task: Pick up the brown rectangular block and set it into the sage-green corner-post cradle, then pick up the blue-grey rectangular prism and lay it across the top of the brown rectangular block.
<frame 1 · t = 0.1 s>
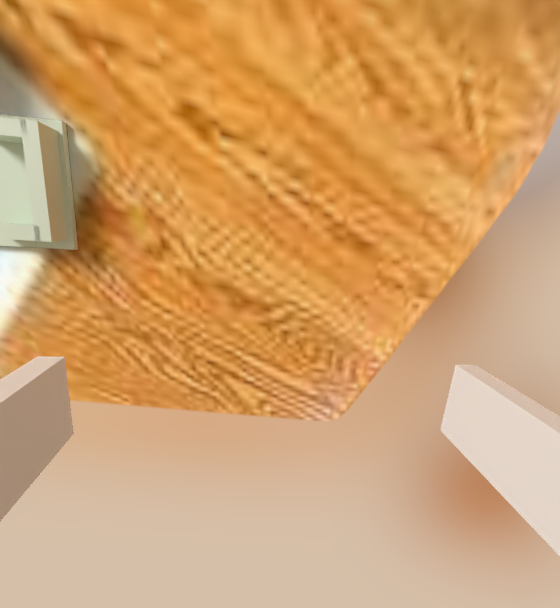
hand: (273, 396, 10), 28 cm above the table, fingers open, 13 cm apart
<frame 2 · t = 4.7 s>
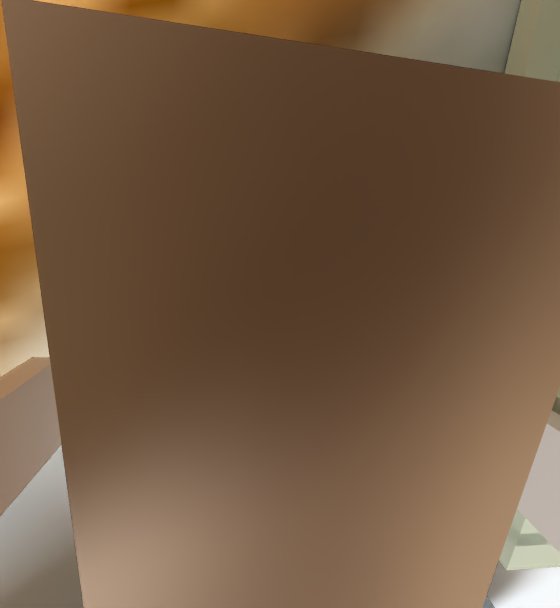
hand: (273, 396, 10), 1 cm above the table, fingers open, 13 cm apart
brown rectangular block: (268, 376, 11), on the table
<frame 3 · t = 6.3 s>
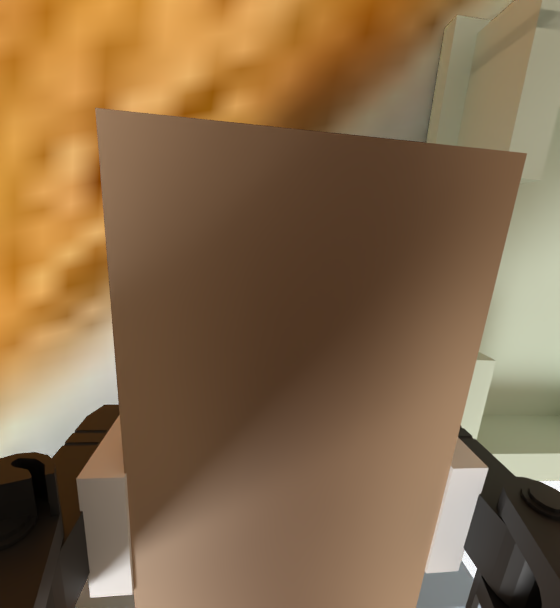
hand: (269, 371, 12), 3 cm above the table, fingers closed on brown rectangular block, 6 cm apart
jig: (523, 270, 16), on the table
brown rectangular block: (268, 367, 13), point 3 cm above the table, touching gripper
blue-grey rectangular prism: (304, 544, 19), on the table
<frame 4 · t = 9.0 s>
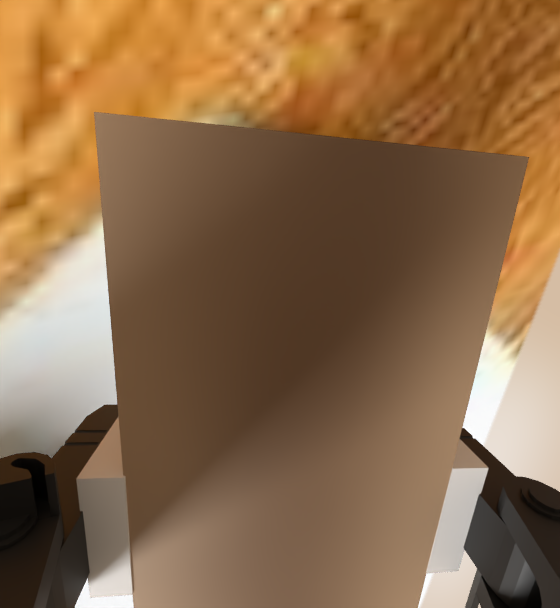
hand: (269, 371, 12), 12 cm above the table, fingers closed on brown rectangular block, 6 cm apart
brown rectangular block: (268, 369, 12), point 12 cm above the table, touching gripper
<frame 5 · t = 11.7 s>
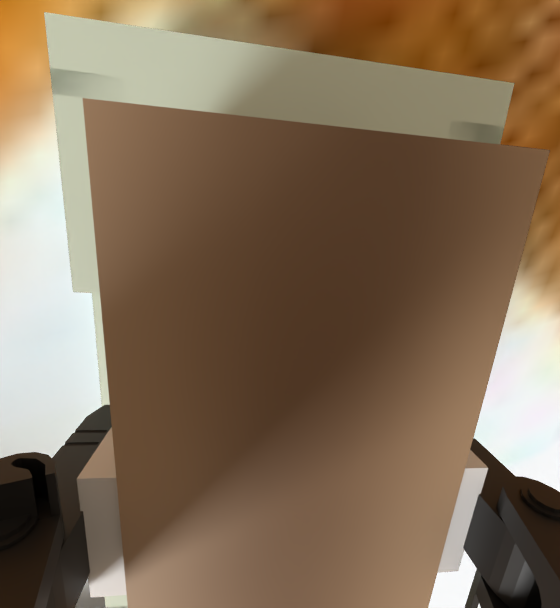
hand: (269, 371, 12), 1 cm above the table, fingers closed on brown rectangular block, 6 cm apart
jig: (266, 357, 13), on the table
brown rectangular block: (268, 370, 12), point 1 cm above the table, touching gripper, jig
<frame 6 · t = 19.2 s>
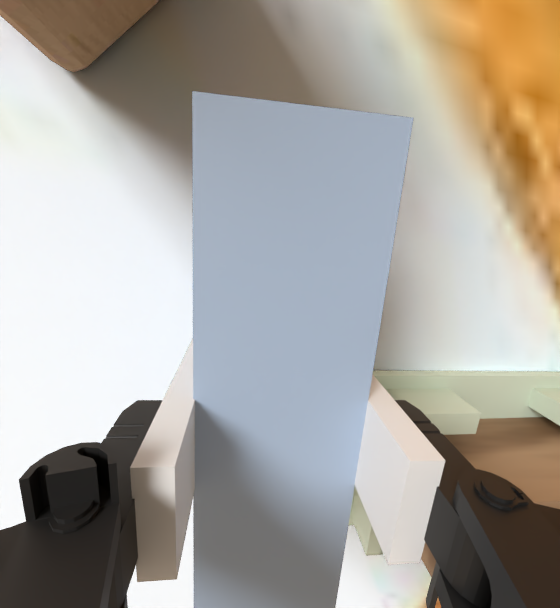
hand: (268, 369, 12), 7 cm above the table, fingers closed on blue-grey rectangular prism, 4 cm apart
jig: (467, 444, 24), on the table
brown rectangular block: (472, 452, 23), point 1 cm above the table, touching jig
blue-grey rectangular prism: (268, 362, 13), point 7 cm above the table, touching gripper
when the fingers open (8 cm above the table, at t = 23.9 s): blue-grey rectangular prism stays where it is, resting on brown rectangular block.
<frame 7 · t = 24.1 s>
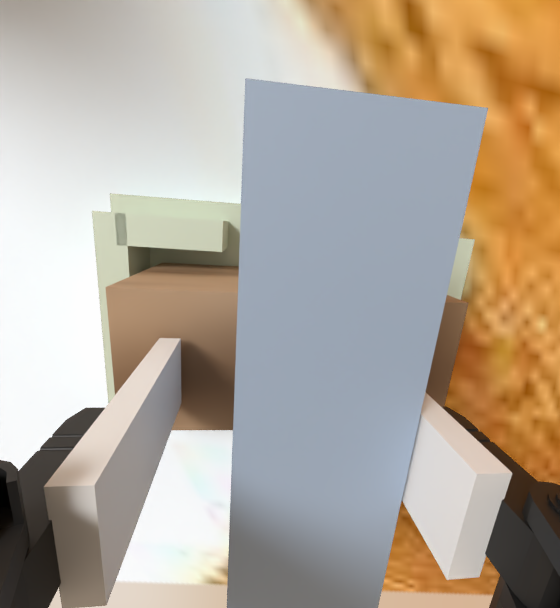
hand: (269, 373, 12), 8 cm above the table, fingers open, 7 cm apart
jig: (280, 311, 20), on the table
brown rectangular block: (278, 315, 19), point 1 cm above the table, touching gripper, jig, blue-grey rectangular prism
blue-grey rectangular prism: (295, 368, 12), point 8 cm above the table, touching brown rectangular block, gripper
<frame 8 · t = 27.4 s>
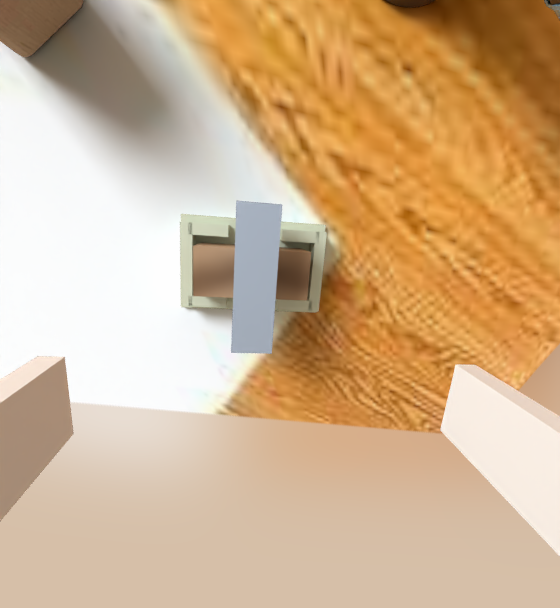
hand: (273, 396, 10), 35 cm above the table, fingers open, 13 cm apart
jig: (253, 265, 44), on the table
brown rectangular block: (251, 266, 43), point 1 cm above the table, touching jig, blue-grey rectangular prism
blue-grey rectangular prism: (254, 275, 36), point 8 cm above the table, touching brown rectangular block
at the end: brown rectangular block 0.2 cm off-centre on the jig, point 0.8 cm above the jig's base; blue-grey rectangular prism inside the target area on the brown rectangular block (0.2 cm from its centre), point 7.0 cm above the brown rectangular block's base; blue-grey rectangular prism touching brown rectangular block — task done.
